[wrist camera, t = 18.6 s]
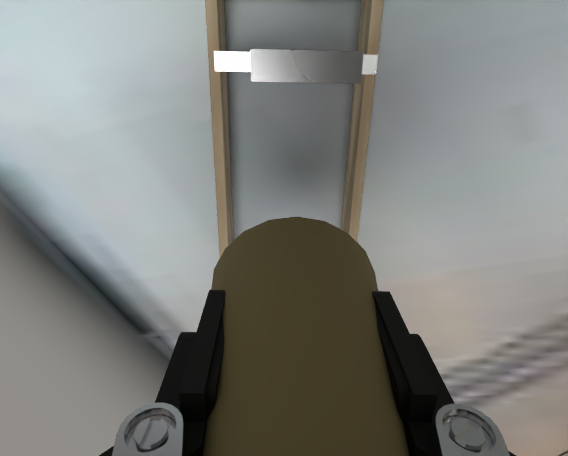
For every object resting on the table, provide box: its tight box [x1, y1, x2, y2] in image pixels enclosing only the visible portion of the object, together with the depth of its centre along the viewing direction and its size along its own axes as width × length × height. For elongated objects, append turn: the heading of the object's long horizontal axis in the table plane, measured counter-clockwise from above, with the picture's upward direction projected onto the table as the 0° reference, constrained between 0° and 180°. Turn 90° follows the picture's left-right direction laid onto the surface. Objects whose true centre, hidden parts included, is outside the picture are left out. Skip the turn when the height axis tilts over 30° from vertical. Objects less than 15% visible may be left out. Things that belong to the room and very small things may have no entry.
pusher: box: [214, 49, 378, 84], centre depth 17 cm, size 7×1×14 cm, turn 89°
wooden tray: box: [205, 0, 384, 257], centre depth 25 cm, size 9×25×5 cm, turn 179°
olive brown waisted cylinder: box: [203, 217, 409, 456], centre depth 9 cm, size 6×6×11 cm
